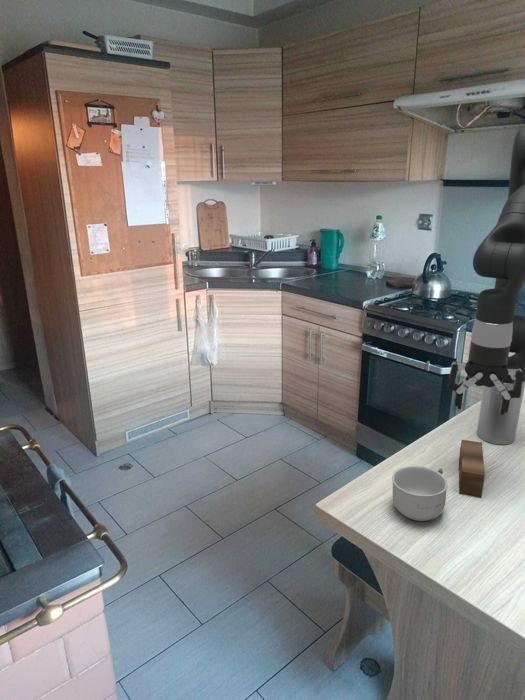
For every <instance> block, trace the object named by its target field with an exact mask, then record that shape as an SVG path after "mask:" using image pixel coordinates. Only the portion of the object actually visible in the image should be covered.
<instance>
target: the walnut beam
mask: <svg viewBox="0 0 525 700" xmlns="http://www.w3.org/2000/svg"><path fill="white" fill-rule="evenodd" d="M483 449H484V448H483V442H481V441H476V440H475V441H474V440H468V439H461V442H460V447H459V455H458V494H459V495H462V496H469V497H473V498H477V499H478V498H479V499H481V498H482V495H483V490H484V484H485V483H484V482H485V479H486V477H485V476H486V473H485V462H484V461H485V460H484V450H483Z"/></svg>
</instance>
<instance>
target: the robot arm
mask: <svg viewBox="0 0 525 700" xmlns="http://www.w3.org/2000/svg"><path fill="white" fill-rule="evenodd" d="M515 134H516V135H515V137H514V140H513V145H512V151H511V159H510V160H511V161H510V172H509V184H508V195H507V200H506V201H505V203H504V204H503V207H502V209H501V212H500V215H499V217H498V220H497V223H496V225H494V227H493V228H492V230H491V231H490V232H489V233H488V234H487V236H486V237H484V239H483V240H482V241H481V242H480V244H479V245H478V247H477V248H476V250H475V253H474V255H473V258H472V267H473V270H474V271H475V272H474V273H476V275H478V276H480V277H483V278H489V279H495V283H494V288H489V289H488V288H486V289H483V290H482V291H481V292H479V294H478V297H477V305H476V309H475V310H476V312H475V317H474V322H473V324H472V330H471V337H470V344H469V351H468V359H467V362H466V363H460V362H458V361H457V360H454V361H452V362H451V365H450V371H449V375H448V376H449V377H448V381H447V390H449V391H453V392H454V393H455V395H454V396H455V397H454V405H455V407H456V408H457V410H461V409H462V405H463V404H462V403H463V397H464V392H465V391H466V390H467V389H469V388H471V387H472V386H473V385H475V386H477V387H483V391H482V397H481V401H480V408H479V415H478V421H477V429H476V435H477V436H478V437H479V438H480V439H481V440H483V441H485V442H487V443H489V444H494V445H509V444H510V445H511V444H512V443H514V442H515V441H516V433H517V429H518V424H519V419H520V413H521V407H522V402H523V398H524V392H525V315H519V314H515V311H516V306H517V302H518V298H519V294H520V292H521V290H522V288H523V285H524V284H525V126H522V127H521V128H519V129H518V130H517V132H516V133H515ZM510 353H514V354H512V355H510ZM462 371H465V373H466V376H465V377H463V378H462V380H461V381H460V382H459V383H456V379H457V375H459V374H461V372H462Z"/></svg>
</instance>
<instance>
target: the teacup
mask: <svg viewBox="0 0 525 700" xmlns="http://www.w3.org/2000/svg"><path fill="white" fill-rule="evenodd" d="M443 471H444V470H443V468H442V467H441V466H440V465H434V466H432V467H430V468H429V467H426V466H421V465H408V466H407V465H406V466H403V467H401V468H400V467H399V468H398V469H397V470H395V471H394V472H393V473H392V476H391V479H392V500H393V504H394V506H395V508H396V510H397V511H398V512H399V513H400V514H402V515H404V516H405V517H407V518H408V519H410V520H412V521H417V522H427V521H430V520H433V519H435V518H437V517H439V516H440V515H441V514H442V513H443V511H444V509H445V505H446V502H447V490H448V485H449V484H448V479H446V477H445V476H444V475H443V473H444V472H443Z"/></svg>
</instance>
